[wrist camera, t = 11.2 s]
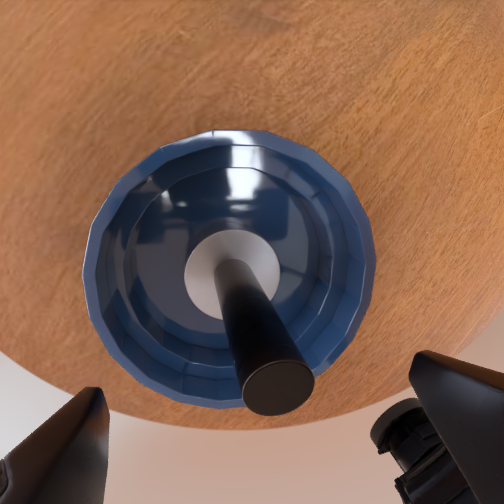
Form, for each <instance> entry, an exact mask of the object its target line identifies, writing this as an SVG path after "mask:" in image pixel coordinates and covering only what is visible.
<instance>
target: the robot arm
mask: <svg viewBox="0 0 504 504" xmlns="http://www.w3.org/2000/svg"><path fill="white" fill-rule="evenodd" d="M409 381H410V383H411V385H412V387H413V388H414V391H415V393H416V395H417V397H418V399H419V401H420V403H421V405H422V407H423V409H421V410H418V411H416V412H413V413H410V414H407V415H405V416H402V417H399V418H396V419H393V420H392V421H391V422H390V423H389V426H388V428H387V431H386V433H385V435H384V438H383V440H382V442H381V445H380V447H379V449H378V454H379V455H381V454H384V453H387V452H390V453H391V455H392V456H393V458H394V459H395V460H396V462H397V463H398V465H399V466H400V468H401V469H402V471H403V472H404V474H403V475H401V476H400V477H399V478H396V479H395V480H394V481H395V483H396V484H395V488H396V489H397V490H398V492H399V493H400V496H401V498H402V501H403V504H504V373H501V372H497V371H494V370H491V369H487V368H484V367H480V366H477V365H474V364H470V363H467V362H464V361H461V360H458V359H455V358H451V357H448V356H445V355H442V354H439V353H436V352H432V351H429V350H424V351H420V352H417V353H416V354H415V356H414V358H413V362H412V365H411V368H410V371H409ZM109 423H110V414H109V409H108V406H107V403H106V400H105V397H104V394H103V391H102V389H101V388H99V387H85V388H84V389H83V390H81V391H80V392H79V393H78V394H77V395H76V396H74V397H73V398H72V399H71V400H70V401H69V402H68V403H66V404H65V405H64V406H63V407H62V408H61V409H59V410H58V411H57V412H56V413H55V414H53V415H52V416H51V417H50V418H49V419H48V420H46V421H45V422H44V423H43V424H42V425H41V426H39V427H38V428H37V429H36V430H35V431H34V432H33V433H31V434H30V435H29V436H28V437H27V438H26V439H24V440H23V441H22V442H21V443H20V444H19V445H18V446H16V447H15V448H14V449H13V450H12V451H11V452H9V453H8V454H7V455H6V456H5V457H4V459H1V460H0V504H103V501H104V492H105V483H106V477H107V468H108V444H109V443H108V442H109Z"/></svg>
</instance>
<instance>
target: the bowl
mask: <svg viewBox="0 0 504 504" xmlns="http://www.w3.org/2000/svg"><path fill="white" fill-rule="evenodd" d="M227 222H232V223H240V224H243V225H246V226H248V227H250V228H252V229H254V230H255V231H256V232H258V233H259V234H260V235H261V236H262V237H263V238H264V239H265V240H266V241H267V242H268V243H269V244H270V246H271V247H272V248H273V250H274V251H275V253H276V255H277V257H278V261H279V265H280V281H279V285H278V288H277V290H276V293H275V295H274V296H273V298H272V299H271V301H270V302H271V303H272V305H273V307H274V309H275V310H276V312H277V314H278V315H279V317H280V319H281V320H282V322H283V324H284V325H285V327H286V329H287V330H288V332H289V334H290V335H291V337H292V339H293V340H294V342H295V344H296V345H297V347H298V349H299V350H300V352H301V354H302V355H303V357H304V359H305V360H306V362H307V364H308V365H309V367H310V369H311V370H312V372H313V374H314V378H316V377H317V376H319V375H320V374H321V373H323V372H324V371H326V370H327V369H328V368H329V367H330V366H331V365H332V364H333V363H334V362H335V360H336V359H337V358H338V357H339V356H340V355H341V353H342V352H343V351H344V350H345V349H346V348H347V346H348V345H349V344H350V343H351V342H352V340H353V338H354V337H355V335H356V333H357V331H358V329H359V327H360V324H361V322H362V320H363V318H364V316H365V314H366V311H367V309H368V307H369V305H370V301H371V296H372V290H373V283H374V276H375V269H376V255H375V248H374V242H373V236H372V231H371V225H370V221H369V219H368V217H367V215H366V213H365V211H364V209H363V207H362V205H361V203H360V202H359V200H358V198H357V196H356V194H355V192H354V191H353V189H352V187H351V185H350V183H349V182H348V180H347V179H345V178H344V177H343V176H342V175H341V174H340V173H339V172H338V171H337V170H336V169H335V168H333V167H332V166H331V165H330V164H329V163H328V162H327V161H326V160H324V159H323V158H322V157H321V156H320V155H319V154H318V153H316V152H315V151H314V150H312V149H310V148H308V147H306V146H303V145H301V144H298V143H296V142H293V141H291V140H288V139H286V138H283V137H281V136H278V135H276V134H273V133H270V132H268V131H257V130H225V129H214V130H213V131H212V130H209V131H205V132H202V133H199V134H196V135H193V136H190V137H187V138H184V139H181V140H178V141H175V142H172V143H169V144H166V145H164V146H162V147H161V148H160V147H159V148H158V149H156V150H155V151H154V152H153V153H151V154H150V155H149V156H147V157H146V158H145V159H144V160H142V161H141V162H140V163H138V164H137V165H136V166H135V167H133V168H132V169H131V170H130V171H129V172H127V173H126V174H125V175H124V176H122V177H121V178H120V179H119V180H118V181H117V182H116V184H115V186H114V187H113V189H112V190H111V192H110V194H109V195H108V197H107V198H106V200H105V202H104V203H103V205H102V207H101V208H100V210H99V212H98V213H97V215H96V217H95V219H94V220H93V222H92V224H91V225H92V226H91V227H90V232H89V237H88V242H87V247H86V253H85V258H84V264H83V270H82V272H83V273H82V277H83V284H84V290H85V296H86V302H87V308H88V313H89V317H90V320H91V322H92V324H93V326H94V328H95V330H96V331H97V333H98V335H99V337H100V339H101V341H102V342H103V344H104V346H105V348H106V349H107V351H108V353H109V355H110V356H111V357H112V358H113V359H114V360H115V361H116V362H117V363H118V364H120V365H121V366H122V367H123V368H124V369H125V370H126V371H127V372H128V373H129V374H130V375H131V376H132V377H134V378H135V379H136V380H137V381H138V382H139V383H140V384H142V385H143V386H145V387H147V388H149V389H151V390H153V391H155V392H157V393H160V394H162V395H164V396H166V397H168V398H170V399H172V400H174V401H177V402H180V403H185V404H190V405H196V406H202V407H208V408H214V409H217V408H218V409H227V408H238V407H247V406H246V405H245V403H244V401H243V398H242V395H241V391H240V387H239V383H238V379H237V375H236V371H235V367H234V363H233V359H232V355H231V351H230V347H229V343H228V339H227V335H226V331H225V327H224V322H223V320H221V319H217V318H214V317H211V316H209V315H207V314H205V313H204V312H202V311H201V310H200V309H199V308H198V307H196V306H195V304H194V303H193V302H192V300H191V299H190V297H189V295H188V293H187V290H186V286H185V280H184V271H185V258H186V254H187V251H188V249H189V246H190V245H191V243H192V241H193V240H194V239H195V238H196V237H197V236H198V235H199V234H200V233H201V232H202V231H204V230H205V229H207V228H209V227H211V226H213V225H216V224H220V223H227Z"/></svg>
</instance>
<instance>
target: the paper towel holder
mask: <svg viewBox="0 0 504 504" xmlns="http://www.w3.org/2000/svg"><path fill="white" fill-rule="evenodd" d="M184 280H185V286H186V290H187V293H188V295H189V297H190V299H191V300H192V302H193V303H194V304H195V306H196V307H198V308H199V309H200V310H201V311H202V312H204V313H205V314H207V315H209V316H211V317H214V318H217V319H221V320H223V322H224V327H225V331H226V335H227V339H228V343H229V347H230V351H231V355H232V359H233V363H234V367H235V371H236V375H237V379H238V383H239V387H240V391H241V395H242V398H243V401H244V403H245V405H246V406H247V407H248V408H249V409H250V410H251V411H253V412H254V413H257V414H259V415H264V416H278V415H283V414H286V413H289V412H291V411H293V410H295V409H297V408H298V407H300V406H301V405H302V404H303V403H304V402H305V401H306V400H307V399H308V398H309V397H310V395H311V393H312V391H313V388H314V382H315V380H314V374H313V372H312V370H311V369H310V367H309V365H308V364H307V362H306V360H305V359H304V357H303V355H302V354H301V352H300V350H299V349H298V347H297V345H296V344H295V342H294V340H293V339H292V337H291V335H290V334H289V332H288V330H287V329H286V327H285V325H284V324H283V322H282V320H281V319H280V317H279V315H278V314H277V312H276V310H275V309H274V307H273V305H272V303H271V302H270V301H271V299H272V298H273V296H274V295H275V293H276V290H277V288H278V285H279V281H280V265H279V261H278V257H277V255H276V253H275V251H274V250H273V248H272V247H271V246H270V244H269V243H268V242H267V241H266V240H265V239H264V238H263V237H262V236H261V235H260V234H259V233H258V232H256V231H255V230H254V229H252V228H250V227H248V226H246V225H243V224H240V223H232V222H227V223H220V224H216V225H213V226H211V227H209V228H207V229H205V230H204V231H202V232H201V233H200V234H199V235H198V236H197V237H196V238H195V239H194V240H193V241H192V243H191V245H190V246H189V249H188V251H187V254H186V258H185V271H184Z"/></svg>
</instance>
